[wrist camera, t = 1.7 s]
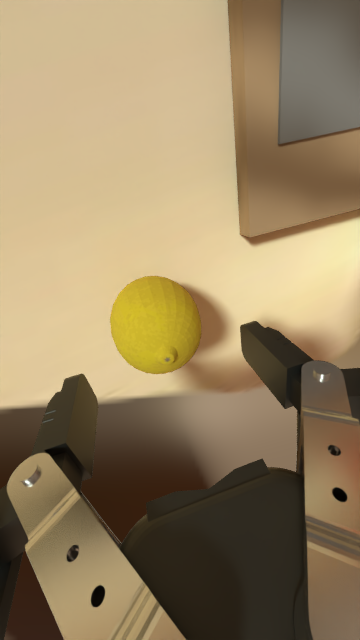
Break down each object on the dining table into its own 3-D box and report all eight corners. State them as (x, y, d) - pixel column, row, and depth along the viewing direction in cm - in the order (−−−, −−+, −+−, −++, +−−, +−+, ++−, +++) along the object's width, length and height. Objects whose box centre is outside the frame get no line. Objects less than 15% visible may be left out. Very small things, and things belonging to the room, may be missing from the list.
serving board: (205, -415, 7) (228, -567, 6) (546, -386, 9) (630, -499, 7) (240, 234, 17) (251, 238, 16) (396, 194, 19) (419, 194, 18)
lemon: (188, 267, 18) (233, 313, 11) (175, 329, 20) (206, 399, 13) (113, 257, 16) (112, 304, 9) (109, 326, 18) (105, 404, 12)
